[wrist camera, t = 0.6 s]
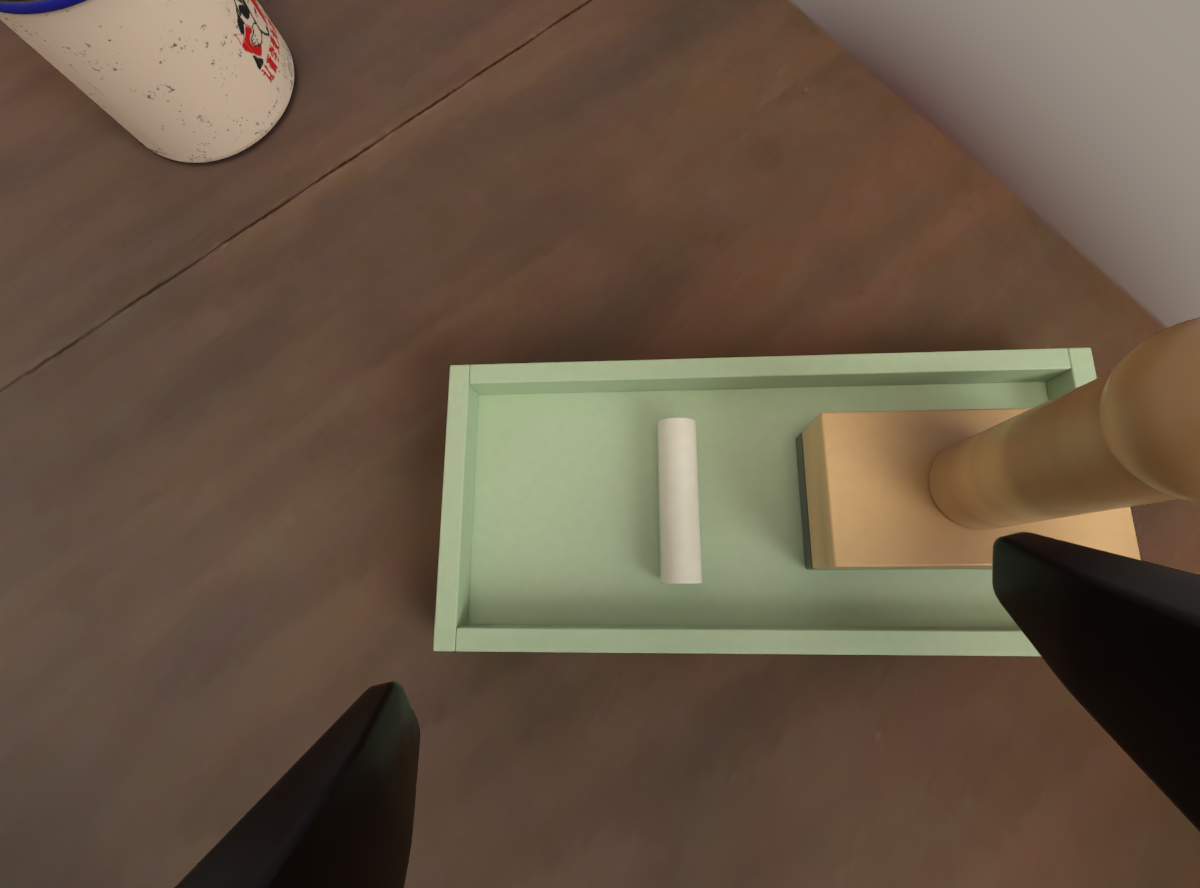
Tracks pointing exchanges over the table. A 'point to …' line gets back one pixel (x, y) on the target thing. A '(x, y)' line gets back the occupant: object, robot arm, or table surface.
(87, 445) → the table surface
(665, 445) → the chalk
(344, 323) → the table surface
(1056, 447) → the wooden rubber stamp
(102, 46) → the teacup with lid
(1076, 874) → the table surface
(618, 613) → the tray
